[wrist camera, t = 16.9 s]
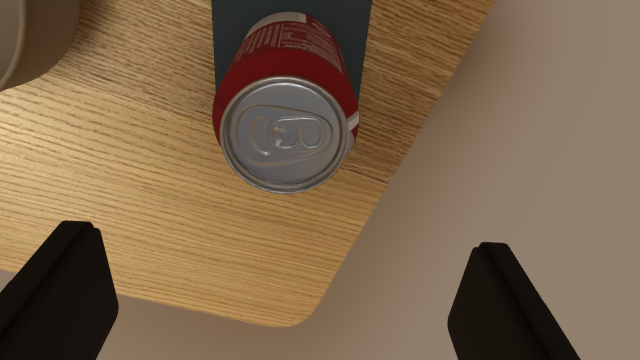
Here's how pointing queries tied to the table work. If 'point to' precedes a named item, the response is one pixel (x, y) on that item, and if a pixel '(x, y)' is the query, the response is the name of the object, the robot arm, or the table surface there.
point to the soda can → (286, 105)
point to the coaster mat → (321, 3)
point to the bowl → (34, 37)
